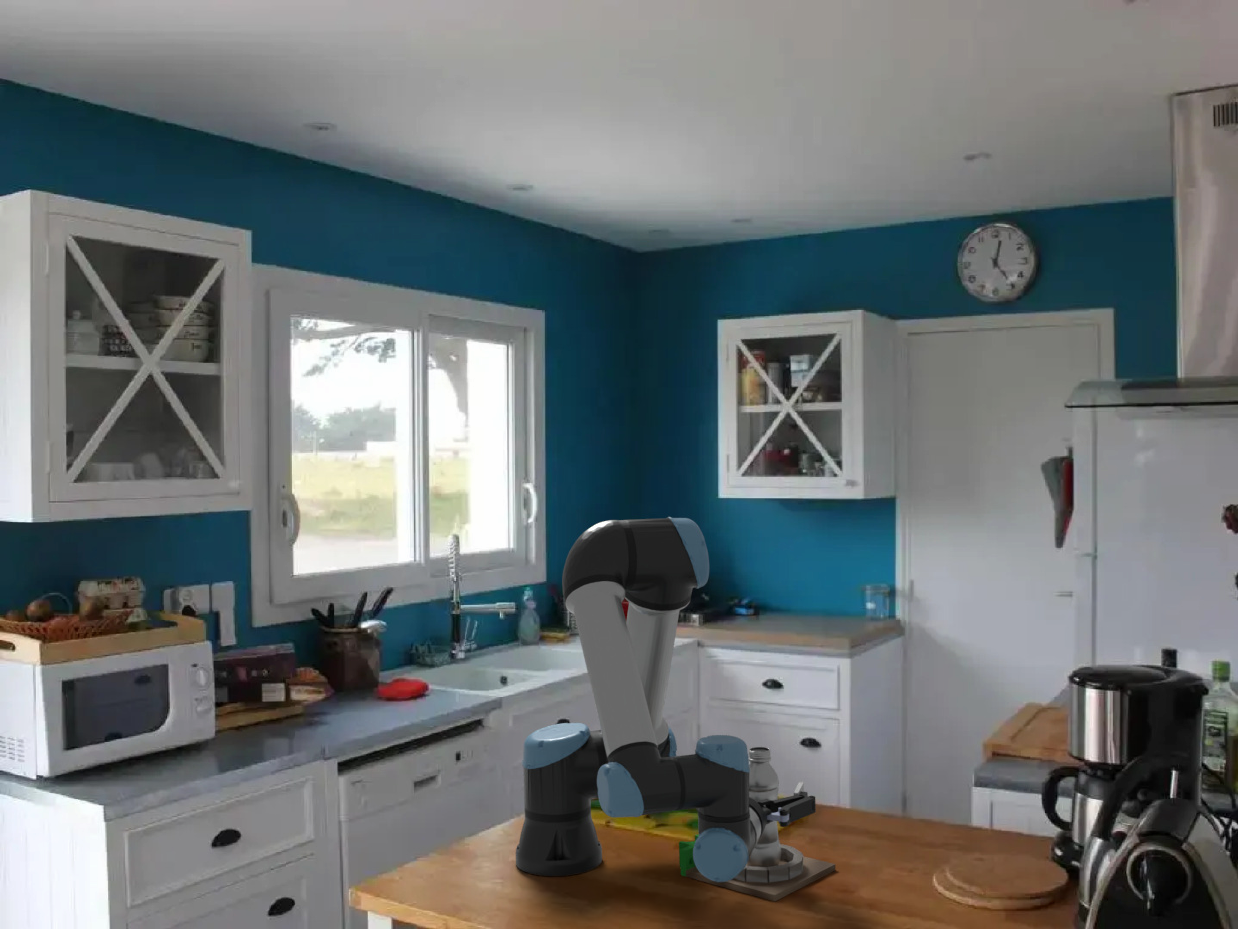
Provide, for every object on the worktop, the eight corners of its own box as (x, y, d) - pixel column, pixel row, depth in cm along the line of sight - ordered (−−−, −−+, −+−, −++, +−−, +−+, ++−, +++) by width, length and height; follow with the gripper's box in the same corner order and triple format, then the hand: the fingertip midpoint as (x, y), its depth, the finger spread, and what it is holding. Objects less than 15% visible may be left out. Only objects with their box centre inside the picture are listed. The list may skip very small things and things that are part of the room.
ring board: (685, 876, 203) (685, 858, 203) (748, 848, 216) (748, 831, 216) (774, 901, 191) (774, 882, 191) (835, 870, 204) (835, 852, 204)
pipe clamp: (708, 856, 214) (707, 830, 214) (725, 860, 211) (724, 834, 211) (668, 872, 205) (667, 845, 205) (685, 877, 203) (685, 850, 203)
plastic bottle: (787, 864, 205) (785, 747, 204) (771, 877, 199) (769, 756, 198) (753, 858, 208) (750, 743, 208) (736, 871, 202) (733, 752, 202)
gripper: (659, 844, 188) (690, 805, 208) (820, 856, 181) (836, 814, 201) (657, 796, 188) (689, 762, 208) (819, 806, 181) (835, 769, 201)
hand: (761, 787), depth 205 cm, fingers open, 13 cm apart
